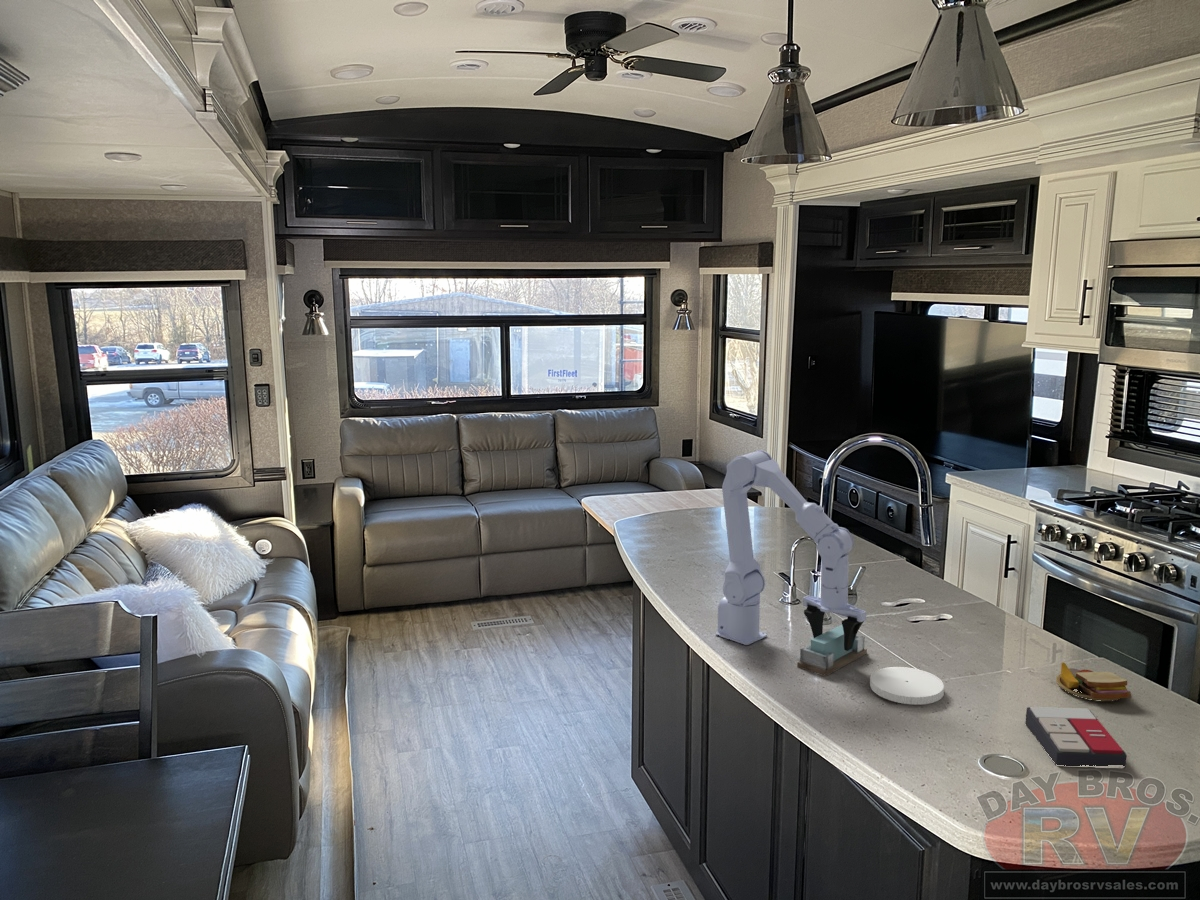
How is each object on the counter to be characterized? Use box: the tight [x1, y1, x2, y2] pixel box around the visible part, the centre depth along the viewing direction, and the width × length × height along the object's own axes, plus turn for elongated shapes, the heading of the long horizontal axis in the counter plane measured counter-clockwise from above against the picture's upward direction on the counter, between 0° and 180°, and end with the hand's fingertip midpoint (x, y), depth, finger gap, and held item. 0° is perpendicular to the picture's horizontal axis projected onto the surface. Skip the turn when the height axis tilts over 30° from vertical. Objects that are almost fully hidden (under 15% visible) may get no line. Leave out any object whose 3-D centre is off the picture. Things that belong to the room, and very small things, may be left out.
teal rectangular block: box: [810, 624, 855, 661], centre depth 192 cm, size 3×12×5 cm, turn 133°
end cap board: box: [796, 647, 868, 677], centre depth 193 cm, size 7×16×1 cm, turn 133°
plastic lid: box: [869, 666, 945, 706], centre depth 177 cm, size 14×14×2 cm
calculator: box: [1024, 706, 1128, 767], centre depth 155 cm, size 11×4×15 cm
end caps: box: [799, 634, 866, 670], centre depth 193 cm, size 6×15×3 cm, turn 133°
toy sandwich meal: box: [1055, 662, 1132, 702], centre depth 176 cm, size 12×14×5 cm
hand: (832, 644), depth 192 cm, fingers open, 7 cm apart
